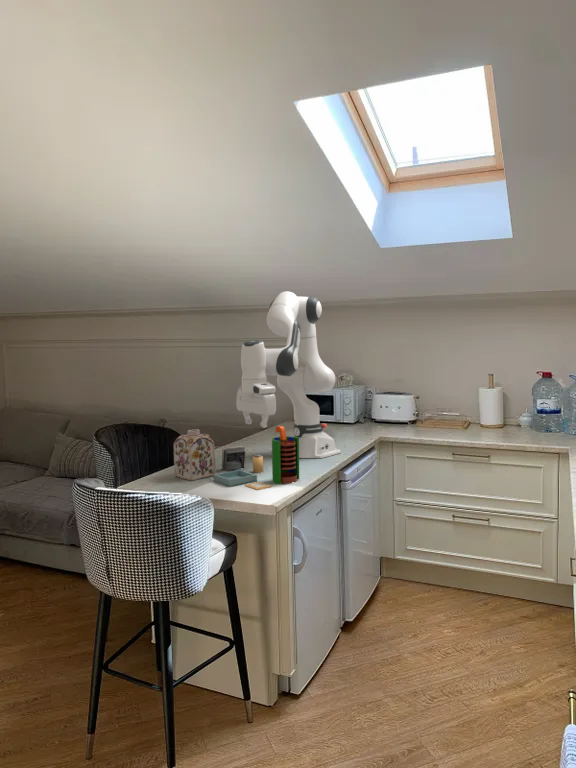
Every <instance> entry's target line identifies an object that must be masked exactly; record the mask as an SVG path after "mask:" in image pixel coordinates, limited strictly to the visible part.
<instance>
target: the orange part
mask: <svg viewBox="0 0 576 768" xmlns="http://www.w3.org/2000/svg"><path fill="white" fill-rule="evenodd" d="M252 471H253V473H254V472H255V473H254V474H261V472H262V473H264V456H263V455H262V454H254V456H252Z"/></svg>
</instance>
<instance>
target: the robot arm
mask: <svg viewBox="0 0 576 768" xmlns="http://www.w3.org/2000/svg"><path fill="white" fill-rule="evenodd" d="M322 309H323V308H322V302H321V300H319V298H318V297H315V296H297V295H296V294H295V293H294V292H291V291H287V290H286V291H282V292H280V293H279V294H278V295H277V296H276V298H274V299H273V300H272V301H271V302H270V304H269V311H268V313H267V315H266V324H267V327H268V329H269V330H270V331H271V332H272V333H273V334H275V335H276V336H279V337H284V338H286V339H287V340H286V346H285V347H280V348H266V347H265V343H264V340H260V339H251V340H246V341H245V342H243V343H242V345H241V353H240V367H241V372H242V374H241V385H239V387H238V389H237V392H236V410H237V411H239V412H242V414H243V418H244V419H245V422H244V423H245V424H246V425H251V424H252V423H253V419H252V418H251V415H250V414H255V415H260V416H261V421H260V423H259V424H260V427H261V428H263V429H265V428H267V427H268V420H269V417H270V416H275V414H276V412H277V399H276V395H275V393H276V391H277V389H276V386H275V385H274V384H272V383H270V381H268V377H267V376H276V377H277V378H276V382H277V386H278V388H279V389H280V390H281V391H282V392H283V393H284V394H285V395H286V396H287V397H288V398H289V400H290V401H291V404H292V406H293V407H292V409H293V413H294V414H293V415H294V423H293V435H294V437H298V438H299V459H323V458H326V457H327V458H328V457H331V456H334V455H339V454H341V453H342V452H341V449H339V448H337V447H336V442H335V438H333V437H331V436H330V435H329V434H328V433H327V432H325V431H324V429H327V428H328V425H327V423H320V419H321V418H320V416H321V415H320V406H319V404H318V403H317V402H316V401H314V400H311V399H310V398H309V397H307V395H306V393H323V392H327V391H332V390H333V388H334V387H335V384H336V375H335V372H334V371H333V370H332V369H331V368H330V367H329V366H327V365H326V364H325V363H324V361H323V360H322V359H321V357H320V353H319V349H318V341H317V329H316V323H317V322H318V321H319V320H320V318H321V316H322V312H323V310H322ZM299 361H301V362H302V363H304V365H305V367H302V366H301V367H299ZM323 428H324V429H323Z"/></svg>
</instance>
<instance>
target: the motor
mask: <svg viewBox="0 0 576 768" xmlns="http://www.w3.org/2000/svg"><path fill="white" fill-rule="evenodd" d="M275 433H279V436H276V437H272V438H271V462H272V463H271V465H272V466H271V468H272V470H271V471H272V483H274V484H276V483H277V484H276V485H281V484H284V483H288V484H293V483H292V482H294V483H296V482H297V481H298V480H297V479H299V480H300V458H299V438H298V437H295V436H289V435H288V436H287V434H286V429H285V427H284V426H283V425H278V426H275Z"/></svg>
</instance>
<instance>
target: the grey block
mask: <svg viewBox="0 0 576 768" xmlns="http://www.w3.org/2000/svg"><path fill="white" fill-rule="evenodd" d="M226 465H227V470H226V472H230V471H235V470H242V469H241V462H237V461H232V462H226Z"/></svg>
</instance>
